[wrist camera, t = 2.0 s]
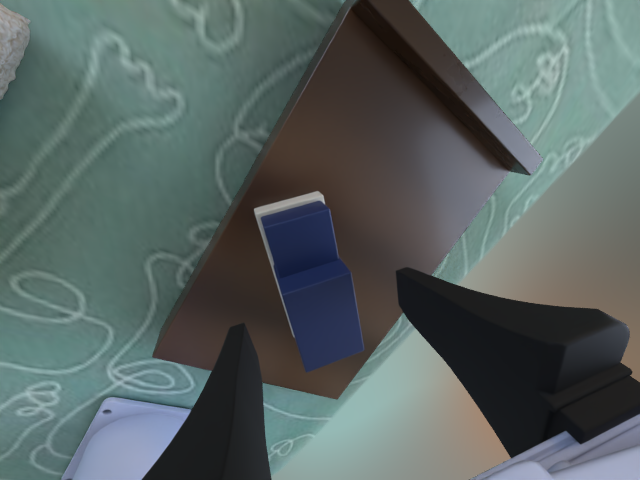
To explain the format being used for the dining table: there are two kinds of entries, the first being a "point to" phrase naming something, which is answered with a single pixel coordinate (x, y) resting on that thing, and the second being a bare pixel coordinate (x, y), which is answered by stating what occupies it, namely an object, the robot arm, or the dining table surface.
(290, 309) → the trainer
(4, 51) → the washcloth
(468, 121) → the shoe shelf
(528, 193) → the dining table surface
